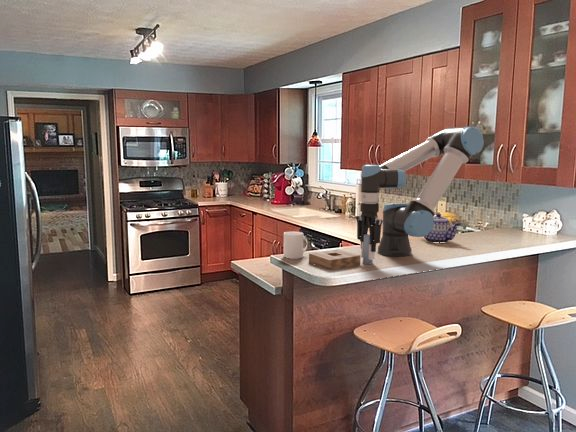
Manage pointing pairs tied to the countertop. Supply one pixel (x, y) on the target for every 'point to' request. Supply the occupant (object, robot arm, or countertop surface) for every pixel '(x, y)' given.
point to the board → (334, 259)
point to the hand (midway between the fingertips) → (367, 258)
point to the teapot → (441, 230)
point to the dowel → (366, 249)
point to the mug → (294, 245)
